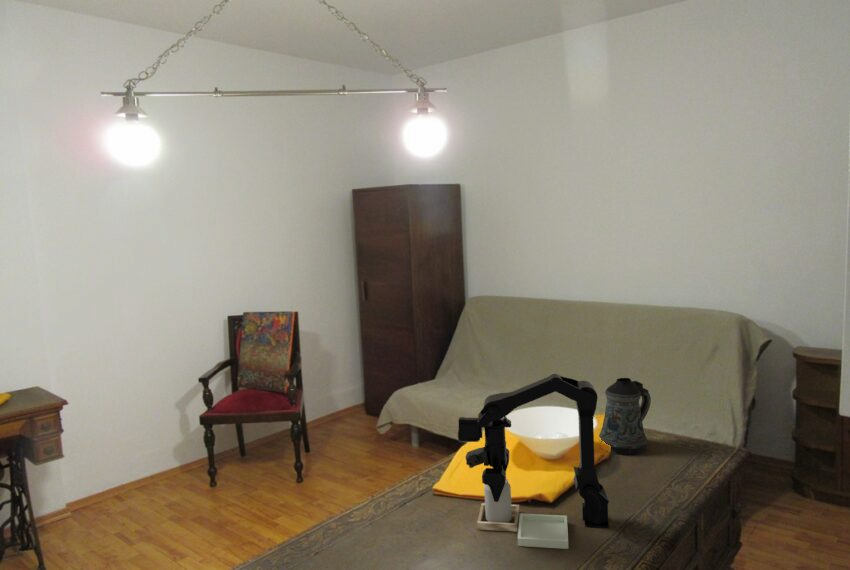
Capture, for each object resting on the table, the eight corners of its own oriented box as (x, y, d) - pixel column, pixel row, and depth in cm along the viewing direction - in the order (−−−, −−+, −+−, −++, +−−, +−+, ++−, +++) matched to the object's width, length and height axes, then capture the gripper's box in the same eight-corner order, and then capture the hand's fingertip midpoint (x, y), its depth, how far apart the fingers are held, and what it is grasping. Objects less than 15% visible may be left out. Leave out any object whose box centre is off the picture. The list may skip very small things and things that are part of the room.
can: (511, 527, 165) (509, 487, 163) (484, 526, 166) (482, 486, 165) (512, 514, 172) (511, 475, 170) (487, 513, 173) (485, 474, 172)
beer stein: (591, 449, 214) (589, 382, 211) (613, 432, 228) (611, 369, 225) (637, 459, 203) (636, 389, 200) (656, 441, 218) (655, 375, 215)
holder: (519, 511, 173) (519, 504, 173) (517, 531, 162) (517, 524, 162) (481, 509, 176) (481, 503, 175) (477, 529, 165) (476, 522, 164)
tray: (567, 522, 165) (566, 515, 165) (568, 548, 153) (568, 541, 153) (520, 520, 168) (519, 513, 168) (517, 545, 156) (517, 538, 155)
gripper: (471, 428, 177) (473, 477, 179) (462, 453, 159) (465, 508, 161) (508, 429, 174) (510, 479, 176) (503, 455, 156) (506, 510, 158)
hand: (497, 493), depth 168 cm, fingers open, 9 cm apart
